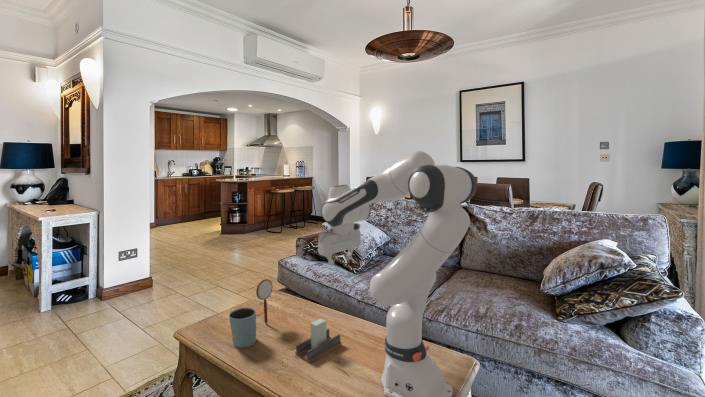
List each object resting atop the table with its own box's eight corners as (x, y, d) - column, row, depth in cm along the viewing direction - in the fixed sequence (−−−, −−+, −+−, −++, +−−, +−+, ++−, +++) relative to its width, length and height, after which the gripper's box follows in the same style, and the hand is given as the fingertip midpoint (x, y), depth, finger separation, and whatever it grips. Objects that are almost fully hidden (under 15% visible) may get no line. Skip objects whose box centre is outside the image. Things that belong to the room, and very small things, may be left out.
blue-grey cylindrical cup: (257, 347, 134) (255, 317, 132) (229, 350, 131) (227, 320, 130) (257, 333, 143) (256, 306, 142) (231, 337, 141) (230, 309, 139)
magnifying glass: (259, 328, 147) (257, 283, 145) (257, 327, 148) (254, 282, 146) (274, 320, 155) (273, 277, 152) (272, 319, 156) (270, 276, 153)
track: (341, 345, 134) (341, 335, 134) (309, 363, 123) (309, 352, 122) (327, 337, 140) (327, 328, 139) (295, 354, 128) (294, 344, 128)
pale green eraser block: (326, 346, 132) (326, 320, 131) (316, 351, 128) (316, 325, 127) (321, 343, 134) (320, 318, 133) (311, 348, 130) (310, 323, 129)
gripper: (325, 232, 125) (326, 270, 126) (363, 224, 140) (363, 257, 141) (313, 230, 129) (314, 266, 131) (351, 222, 144) (352, 254, 146)
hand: (340, 261), depth 136 cm, fingers open, 8 cm apart
